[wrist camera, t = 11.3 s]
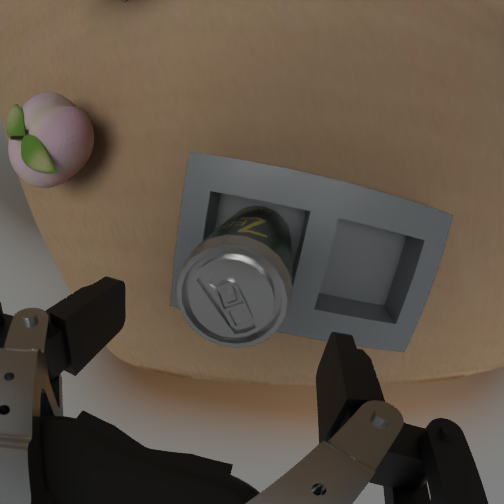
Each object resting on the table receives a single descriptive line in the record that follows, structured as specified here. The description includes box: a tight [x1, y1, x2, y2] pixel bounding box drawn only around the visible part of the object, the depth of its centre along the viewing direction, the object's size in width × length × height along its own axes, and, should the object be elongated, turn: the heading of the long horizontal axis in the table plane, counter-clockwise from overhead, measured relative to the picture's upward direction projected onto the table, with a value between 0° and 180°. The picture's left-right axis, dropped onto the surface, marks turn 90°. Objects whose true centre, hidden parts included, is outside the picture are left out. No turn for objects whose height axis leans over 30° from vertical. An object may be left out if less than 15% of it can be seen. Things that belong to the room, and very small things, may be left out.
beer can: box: [177, 206, 293, 348], centre depth 18 cm, size 5×5×12 cm
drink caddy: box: [170, 152, 453, 352], centre depth 23 cm, size 20×12×4 cm, turn 79°
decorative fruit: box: [6, 92, 94, 188], centre depth 20 cm, size 9×8×10 cm
